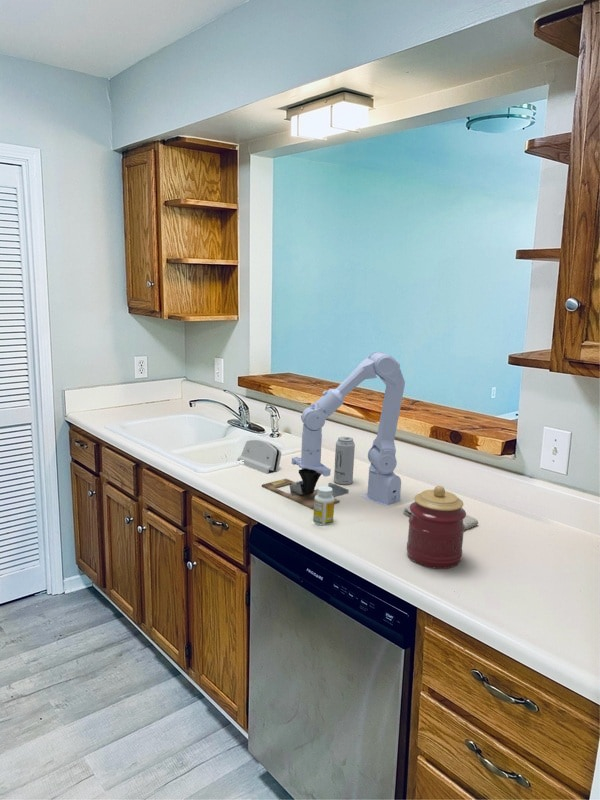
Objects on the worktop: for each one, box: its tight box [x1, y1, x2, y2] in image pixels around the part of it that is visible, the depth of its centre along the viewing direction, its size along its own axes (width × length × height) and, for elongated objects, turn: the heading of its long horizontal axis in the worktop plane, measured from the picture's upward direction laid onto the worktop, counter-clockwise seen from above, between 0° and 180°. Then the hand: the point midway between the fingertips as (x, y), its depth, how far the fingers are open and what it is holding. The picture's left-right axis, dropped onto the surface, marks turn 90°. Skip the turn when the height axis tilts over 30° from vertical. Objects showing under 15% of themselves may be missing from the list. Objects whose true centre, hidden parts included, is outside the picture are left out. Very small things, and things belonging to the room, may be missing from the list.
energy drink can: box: [333, 436, 356, 486], centre depth 186 cm, size 6×6×15 cm
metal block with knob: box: [288, 480, 316, 496], centre depth 174 cm, size 5×5×4 cm
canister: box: [406, 485, 467, 569], centre depth 137 cm, size 13×13×18 cm
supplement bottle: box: [312, 485, 335, 527], centre depth 156 cm, size 5×5×10 cm
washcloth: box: [403, 506, 479, 531], centre depth 161 cm, size 12×18×3 cm, turn 42°
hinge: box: [236, 439, 282, 475], centre depth 202 cm, size 17×5×10 cm, turn 45°
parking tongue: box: [314, 482, 350, 498], centre depth 179 cm, size 8×7×2 cm
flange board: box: [261, 478, 341, 511], centre depth 175 cm, size 24×10×2 cm, turn 42°
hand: (309, 493), depth 172 cm, fingers closed
